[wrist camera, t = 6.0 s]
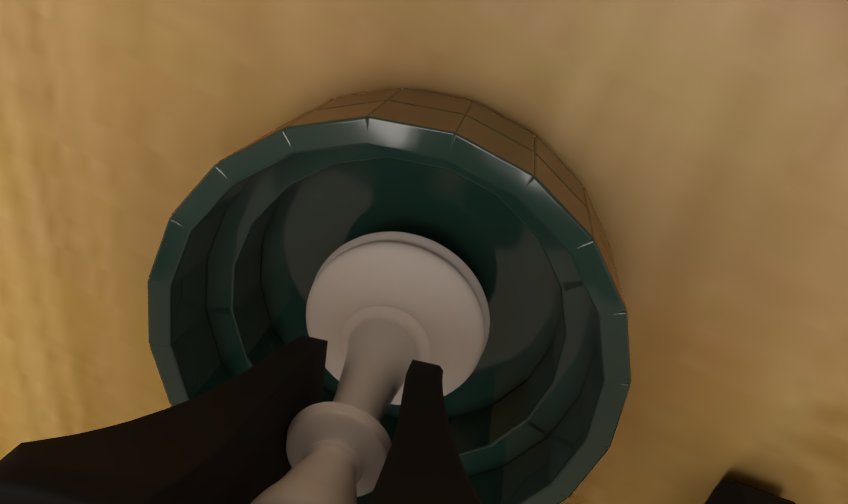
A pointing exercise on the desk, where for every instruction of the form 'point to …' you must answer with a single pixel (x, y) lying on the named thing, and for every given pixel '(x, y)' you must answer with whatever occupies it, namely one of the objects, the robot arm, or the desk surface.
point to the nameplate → (743, 495)
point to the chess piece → (377, 356)
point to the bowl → (428, 217)
